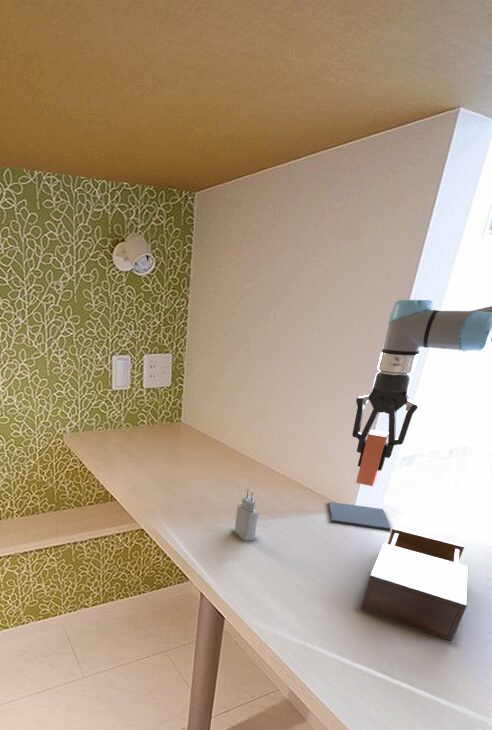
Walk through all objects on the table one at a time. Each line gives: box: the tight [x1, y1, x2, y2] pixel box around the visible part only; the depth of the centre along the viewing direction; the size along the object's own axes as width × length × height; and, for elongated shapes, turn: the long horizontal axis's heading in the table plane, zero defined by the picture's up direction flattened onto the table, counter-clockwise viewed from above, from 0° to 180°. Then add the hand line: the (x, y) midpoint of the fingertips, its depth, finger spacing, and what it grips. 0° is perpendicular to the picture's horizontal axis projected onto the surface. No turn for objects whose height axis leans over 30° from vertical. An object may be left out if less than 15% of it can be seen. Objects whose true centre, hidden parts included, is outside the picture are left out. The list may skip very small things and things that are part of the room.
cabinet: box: [360, 542, 469, 642], centre depth 82 cm, size 15×15×8 cm
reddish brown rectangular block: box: [355, 429, 389, 487], centre depth 110 cm, size 5×4×13 cm
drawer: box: [387, 526, 465, 564], centre depth 92 cm, size 18×13×6 cm
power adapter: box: [234, 488, 259, 541], centre depth 105 cm, size 3×5×12 cm, turn 20°
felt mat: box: [328, 501, 392, 531], centre depth 117 cm, size 14×12×1 cm
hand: (370, 466), depth 111 cm, fingers closed on reddish brown rectangular block, 4 cm apart
